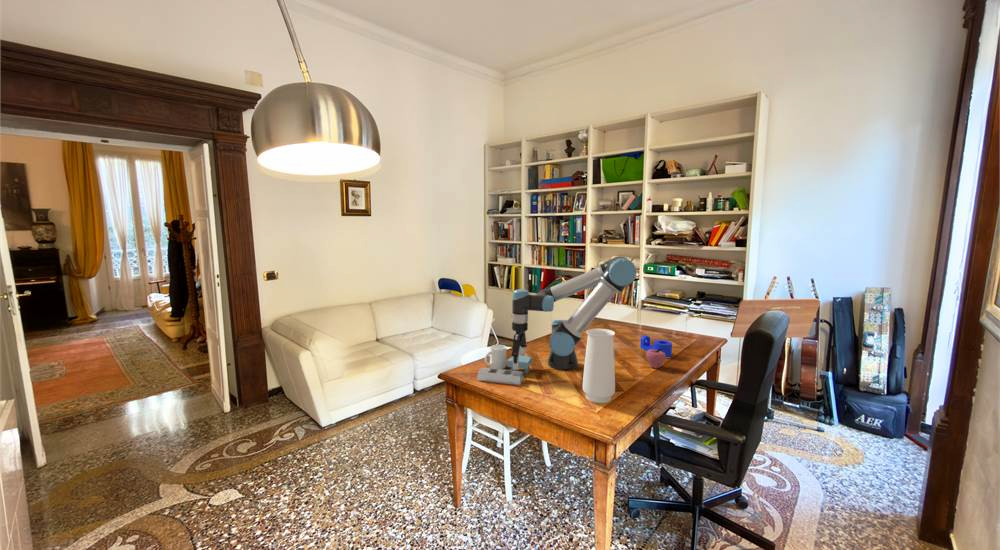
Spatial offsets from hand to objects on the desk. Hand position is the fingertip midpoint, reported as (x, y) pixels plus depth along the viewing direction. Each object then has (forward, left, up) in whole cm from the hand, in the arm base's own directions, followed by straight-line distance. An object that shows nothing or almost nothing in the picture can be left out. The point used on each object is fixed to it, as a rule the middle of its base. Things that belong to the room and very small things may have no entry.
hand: (518, 364), depth 194 cm
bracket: (-66, -48, -4) cm, 82 cm away
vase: (-38, +20, -4) cm, 43 cm away
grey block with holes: (+6, +13, -3) cm, 15 cm away
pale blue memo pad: (0, 0, -3) cm, 3 cm away
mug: (+13, -2, -4) cm, 13 cm away
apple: (-64, -24, -4) cm, 69 cm away
